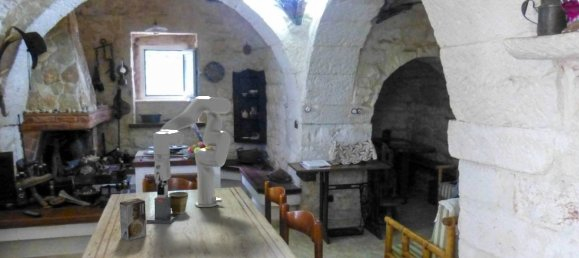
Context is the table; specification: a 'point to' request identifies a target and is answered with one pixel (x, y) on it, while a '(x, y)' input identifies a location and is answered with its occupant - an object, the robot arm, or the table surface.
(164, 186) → the steel post
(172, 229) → the table surface
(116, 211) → the table surface
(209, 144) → the robot arm
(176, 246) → the table surface
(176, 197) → the ceramic cup
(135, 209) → the coffee box
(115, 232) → the table surface
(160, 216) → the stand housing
